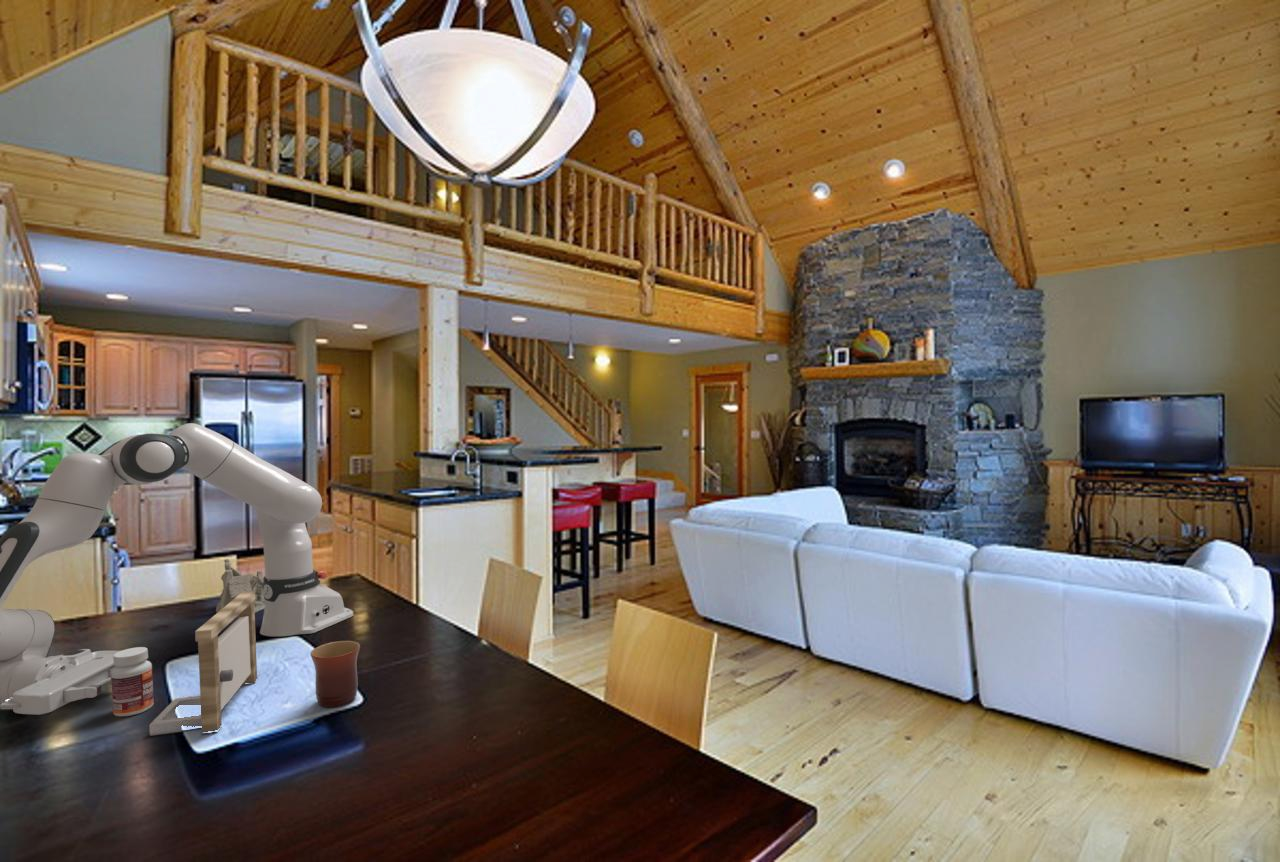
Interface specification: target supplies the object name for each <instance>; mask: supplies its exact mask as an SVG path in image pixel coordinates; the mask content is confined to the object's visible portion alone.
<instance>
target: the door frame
mask: <svg viewBox="0 0 1280 862" xmlns="http://www.w3.org/2000/svg"><path fill="white" fill-rule="evenodd" d="M255 599H256V598H255V591H247V592H242V593H240V594H239V595H238V596H237V597H236V598H235V599H233V600H232V601H231V602H230V603H229V604H227V605H226V606H225V607H224V608H223V609H221V610H220V611H219V612H218V613H217V612H216V614H214V615H213V616H212V617H211V618H209V619H208V620H207V621H206V622H205V623H204V624H202V625H201V626H200V627H199V628H197V629H196V630H195V631H194V632H195V633H194V635H195V636H194V637H195V639H194V640H195V642H197V647H198V648H197V650H198V651H197V652H198V671H199V672H198V673H199V676H198V677H199V696H200V699H201V722H202V729H201V733H202V732H208V731H215V730H218V729H219V728H220V726H221V725H223V724H222V711H221V699H220V676H219V652H218V637H219V634H220V633H221V632H222V631H223V630H224V629H225V628H226V627H227V626H228V625H229V624H230V623H232V622H234V620H235V619H236V618H237V616H238V618H239V617H246V616H248V617H249V642H250V667H251V674H250V675H249V676H248V677H247V679H246V680H245V681H244V682H243V684H245V683H254V682H255V681H256V679H257V680H258V664H257V643H256V642H257V640H256V637H257V636H256V617H255V616H256V615H255V614H256V612H255V611H254V600H255ZM256 682H257V681H256ZM256 682H255V683H256ZM255 683H254V684H255Z"/></svg>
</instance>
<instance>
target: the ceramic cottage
mask: <svg viewBox="0 0 1280 862" xmlns="http://www.w3.org/2000/svg"><path fill="white" fill-rule="evenodd" d="M223 561H224V570H225V571H224V573H223V574H222V575H221V576H220V577H221V578H220V579H221V581H222V585H223V589H222V591H221V594H220V601H219V602H218V603H217V605H216V608H215V612H216V614H217V613H218V612H219V611H220V610H221V609H223V608H224V607H225V606H226V605H227V604H229V603H230V602H231V601H232V600H233V599H235V598H236V597H237V596H238V595H239V594H240V593H242V592H247V591H255V598H256V599H255V600H254V611H255V613H257V612H259V611H262V610H264V608H265V599H264V590H263V578H264V577H265V576H263V571H262V570H260V569H259V570H257V571H256V575H254V574H253V573H251V572H250V573H245V574H242V572H240V571H238V570H237V569H234V567H232V564H231V562H230V559H229V558H225V559H224V560H223ZM237 617H238V616H237ZM237 617H236V618H237ZM238 618H239V617H238Z"/></svg>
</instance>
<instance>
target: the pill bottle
mask: <svg viewBox="0 0 1280 862" xmlns="http://www.w3.org/2000/svg"><path fill="white" fill-rule="evenodd" d="M119 651H120V652H117V653H116V654H114V656H113V659H114V666H116V667H115V668H114V669H113V670H112V672H111V680H110V682H111V698H112V699H111V701H112V714H113V715H114V716H115V717H129V716H134V715H135V716H136V715H139V714H141V713H144V712H145V711H148V710H149V709H151V708H152V707H153V706H154V684H153V680H154V679H153V664H152V662H151V661H150V660H148V659H149V650H148V648H147V647H145V646H139V647H137V646H136V647H131V648H130V647H129V648H125V649H122V650H119Z"/></svg>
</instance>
